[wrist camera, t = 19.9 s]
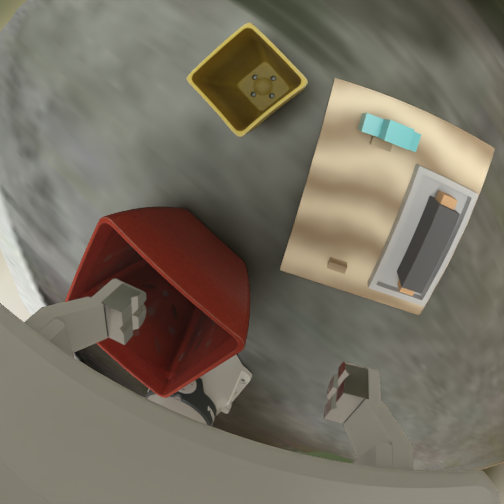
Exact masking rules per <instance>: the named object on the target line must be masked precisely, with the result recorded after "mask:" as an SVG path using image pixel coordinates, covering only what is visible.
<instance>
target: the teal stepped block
mask: <svg viewBox="0 0 504 504" xmlns="http://www.w3.org/2000/svg"><path fill="white" fill-rule="evenodd" d="M358 130H360V131H362V132H365V133H368V134H370V135H373V136H376V137H379V138H381V139H382V140H385V141H387V142H390V143H392V144H395V145H397V146H400V147H402V148H405V149H407V150H411V151H413V152H416V150H417V147H418V144H419V141H420V137H421V134H419V133H417V132H414V129H412V128H409V127H407V126H405V125H402V124H400V123H397V122H395V121H392V120H388V119H382V118H380V117H377V116H374V115H371V114H369V113H362V116H361V119H360V123H359V126H358Z"/></svg>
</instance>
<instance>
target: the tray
mask: <svg viewBox="0 0 504 504" xmlns="http://www.w3.org/2000/svg"><path fill="white" fill-rule="evenodd" d="M439 190H440V191H442V192H444V193H447V194H449V195H451V196H453V197H454V198H455V199H456V200H457V201H458V202H457V204H456V207H455V210H456V211H457V212H458V213H459V214H460V216H459V219H458V221H457V223H456V226H455V228H454V230H453V232H452V235H451V237H450V239H449V241H448V243H447V245H446V248H445V250H444V252H443V254H442V256H441V258H440V260H439V262H438V264H437V266H436V268H435V270H434V272H433V273H432V275H431V277H430V279H429V281H428V283H427V285H426V286H425V288H424V290H423V292H422V294H420V293H417V292H414V294H413V296H411V295H408V294H405V293H402V292H399V288H398V285H397V283H398V281H399V277H398V274H397V269H398V267H399V265H400V263H401V261H402V259H403V257H404V255H405V253H406V251H407V248H408V246H409V244H410V242H411V240H412V237H413V235H414V233H415V230H416V228H417V226H418V223H419V221H420V219H421V216H422V214H423V211H424V209H425V206H426V204H427V201H428V199H429V196H432V197H435V198H436V196H437V194H438V191H439ZM478 195H479V194H477V193H476V192H474V191H472V190H471V189H469V188H467V187H465V186H463V185H461V184H459V183H457V182H455V181H453V180H451V179H449V178H447V177H444V176H442V175H440V174H438V173H436V172H434V171H432V170H429V169H427V168H425V167H423V166H420V165H418V164H416V165H415V168H414V171H413V174H412V176H411V179H410V182H409V185H408V188H407V190H406V193H405V196H404V198H403V201H402V204H401V206H400V209H399V211H398V214H397V216H396V219H395V221H394V224H393V226H392V228H391V231H390V233H389V236H388V238H387V240H386V243H385V245H384V247H383V250H382V252H381V254H380V256H379V258H378V261H377V263H376V265H375V267H374V269H373V272H372V274H371V276H370V278H369V280H368V288H370V289H373V290H376V291H379V292H382V293H385V294H388V295H391V296H394V297H397V298H400V299H403V300H406V301H409V302H412V303H415V304H418V305H421V306H425V304H426V302H427V301H428V299H429V297H430V295H431V294H432V292H433V290H434V288H435V287H436V285H437V283H438V281H439V279H440V278H441V276H442V274H443V272H444V270H445V268H446V266H447V264H448V262H449V260H450V258H451V256H452V254H453V252H454V250H455V248H456V246H457V244H458V242H459V240H460V238H461V236H462V233H463V231H464V229H465V227H466V224H467V222H468V220H469V218H470V215H471V213H472V210H473V208H474V205H475V203H476V200H477V198H478Z"/></svg>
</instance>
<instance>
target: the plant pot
mask: <svg viewBox="0 0 504 504" xmlns="http://www.w3.org/2000/svg"><path fill="white" fill-rule="evenodd" d="M112 279H118V280H120V281H122V282H124V283H127V284H129V285H131V286H133V287H135V288H138V289H140V290H142V291H144V292H145V293H146V301H145V302H144V305H145V307H146V317H145V319H144V321H143V324H142V325H141V326H140V327H139V329H135V330H133V336H132V337H131V338H130V339H129V341H128V342H127V343H126V344H125V345H124V344H121V343H119V342H117V341H115V340H113V339H111V338H109V337H108V338H107V339H104V340H102V341H100V342H97V344H98V345H99V346H100V347H101V348H102V349H103V350H104V351H106V352H107V353H108V354H109V355H110V356H111V357H112V358H113V359H114V360H116V361H117V362H118V363H119V364H120V365H121V366H122V367H123V368H125V369H126V370H127V371H128V372H129V373H131V374H132V375H133V376H134V377H135V378H137V379H138V380H139V381H140V382H141V383H143V384H144V385H145V386H146V387H148V388H149V389H150V390H152V391H153V392H154V393H155V394H157V395H158V396H160V397H163V398H167V397H169V396H171V395H172V394H174V393H176V392H177V391H179V390H180V389H182V388H184V387H185V386H187V385H188V384H190V383H192V382H193V381H195V380H196V379H198V378H200V377H201V376H203V375H204V374H206V373H208V372H209V371H211V370H212V369H214V368H216V367H217V366H219V365H220V364H222V363H223V362H225V361H227V360H228V359H230V358H231V357H233V356H235V355H236V354H238V353H239V352H241V351H242V350H243V349H244V347H245V343H246V338H247V333H248V326H249V317H250V286H249V279H248V272H247V268H246V265H245V262H244V261H243V260H242V259H241V258H240V257H239V256H237V255H236V254H235V253H234V252H233V251H232V250H231V249H230V248H229V247H228V246H226V245H225V244H224V243H223V242H222V241H221V240H220V239H219V238H218V237H217V236H216V235H214V234H213V233H212V232H211V231H210V230H209V229H208V228H207V227H206V226H205V225H204V224H203V223H202V222H200V221H199V220H198V219H197V218H196V217H195V216H194V215H193V214H192V213H191V212H190V211H188V210H187V209H182V208H175V207H145V208H138V209H132V210H127V211H122V212H118V213H114V214H110V215H107V216H104V217H102V218H100V220H99V221H98V223H97V225H96V228H95V230H94V232H93V234H92V237H91V239H90V241H89V243H88V245H87V248H86V250H85V252H84V255H83V257H82V259H81V262H80V264H79V267H78V269H77V272H76V274H75V277H74V280H73V282H72V285H71V287H70V290H69V292H68V295H67V297H66V300H65V302H67V301H71V300H76V299H80V298H84V297H90V298H91V297H93V296H94V295H95V294H96V293H97V292H98V291H99V290H101V289H102V288H103V287H104V286H105V285H106V284H107V283H109V282H110V281H111V280H112Z"/></svg>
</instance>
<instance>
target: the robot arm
mask: <svg viewBox="0 0 504 504" xmlns="http://www.w3.org/2000/svg"><path fill="white" fill-rule="evenodd" d="M145 301H146V293H145V292H144V291H142V290H140V289H138V288H135V287H133V286H131V285H129V284H127V283H124V282H122V281H120V280H118V279H112V280H111V281H110V282H109V283H107V284H106V285H105V286H104V287H103V288H102V289H101V290H99V291H98V292H97V293H96V294H95V295H94V296H93V297H91V298H90V297H84V298H80V299H76V300H71V301H67V302H63V303H59V304H54V305H50V306H46V307H42V308H41V309H39V310H38V311H37V312H36V313H35V314H33V315H32V316H31V317H30V318H29V319H28V320H27V321H25V322H23V321H22V320H20V319H19V318H18V317H16V316H15V315H14V314H13V313H11V312H10V311H9V310H8V309H7V308H5V307H4V306H3V305H2V304H1V303H0V504H501V501H500V495H499V492H498V490H497V489H496V487H495V486H494V484H493V483H492V481H491V480H490V478H489V477H488V476H487V475H486V474H485V473H484V472H483V471H481V470H465V471H422V470H413V447H412V443H411V442H410V440H409V439H408V437H407V436H406V434H405V433H404V431H403V430H402V428H401V427H400V425H399V424H398V422H397V421H396V419H395V418H394V416H393V415H392V413H391V412H390V411H389V409H388V408H387V406H386V405H385V403H382V402H381V387H380V372H379V370H376V369H371V368H366V367H363V366H359V365H355V364H351V363H348V362H343V363H342V364H341V365H340V367H339V371H338V373H337V374H335V375H334V376H333V378H332V379H331V381H330V384H329V386H328V390H327V398H328V400H329V401H328V402H327V404H326V405H325V412H324V419H327V420H331V421H335V422H339V423H343V426H344V428H345V431H346V433H347V435H348V438H349V440H350V442H351V445H352V447H353V449H354V452H355V454H356V456H357V460H356V461H354V462H353V463H352V464H351V463H345V462H339V461H334V460H328V459H323V458H318V457H313V456H309V455H305V454H300V453H296V452H292V451H288V450H284V449H280V448H277V447H273V446H270V445H266V444H263V443H259V442H256V441H253V440H249V439H246V438H243V437H240V436H237V435H234V434H231V433H228V432H225V431H223V430H220V429H217V428H214V427H212V424H213V422H214V419H215V416H216V415H217V414H219V413H220V412H223V413H226V414H228V412H229V411H230V409H231V406H232V405H231V404H232V402H233V401H234V400H235V398H236V397H237V396H238V395H239V394H240V392H241V391H242V390H243V389H244V388H245V386H246V385H247V384H248V383H249V381H250V380H251V378H252V374H251V372H250V371H249V370H248V369H246V368H245V367H244V366H243V365H242V363H241V362H240V360H239V358H238V356H237V355H235V356H233V357H231V358H230V359H228V360H227V361H225V362H223V363H222V364H220V365H219V366H217V367H216V368H214V369H212V370H211V371H209V372H208V373H206V374H204V375H203V376H201V377H200V378H198V379H196V380H195V381H193V382H192V383H190V384H188V385H187V386H185V387H184V388H182V389H180V390H179V391H177V392H176V393H174V394H172V395H171V396H169V397H167V398H163V397H160V396H158V395H157V394H155V393H154V392H153V391H152V390H150V389H149V390H148V393H147V395H146V397H143V396H141V395H139V394H137V393H135V392H133V391H131V390H129V389H127V388H125V387H123V386H121V385H120V384H118V383H116V382H114V381H112V380H110V379H109V378H107V377H105V376H103V375H102V374H100V373H98V372H96V371H95V370H93V369H91V368H90V367H88V366H86V365H85V364H83V363H82V362H80V361H78V360H77V359H75V358H74V355H73V352H76V351H78V350H80V349H83V348H85V347H88V346H90V345H92V344H95V343H97V342H100V341H102V340H104V339H107V338H108V337H109V338H111V339H113V340H115V341H117V342H119V343H121V344H124V345H125V344H126V343H127V342H128V341H129V339H130V338H131V337H132V336H133V330H135V329H139V327H140V326H141V325H142V324H143V321H144V319H145V317H146V307H145V305H144V302H145Z"/></svg>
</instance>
